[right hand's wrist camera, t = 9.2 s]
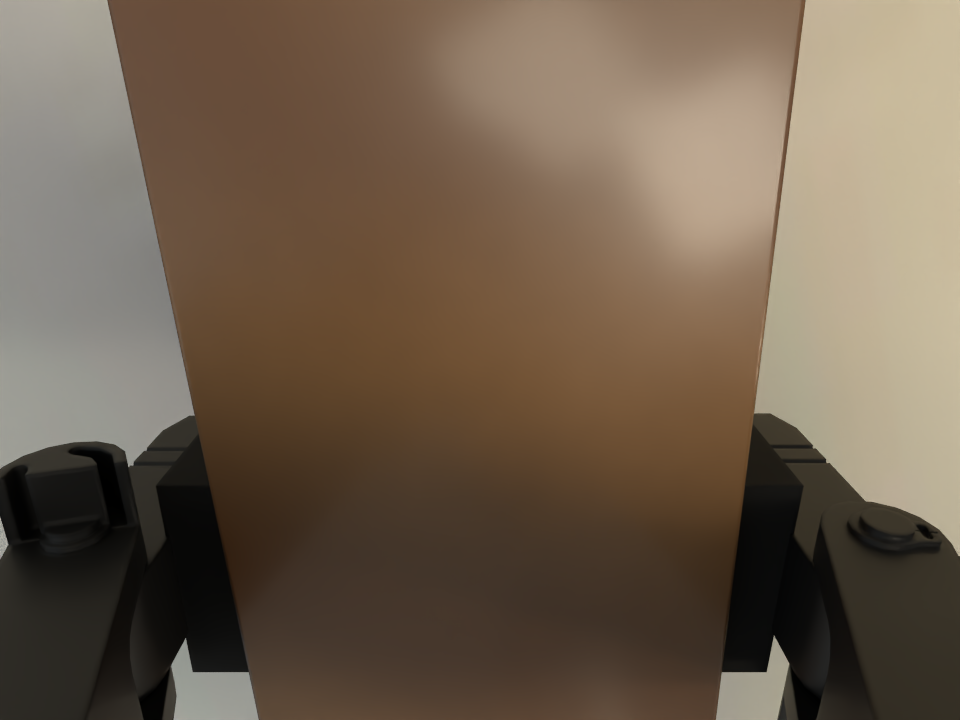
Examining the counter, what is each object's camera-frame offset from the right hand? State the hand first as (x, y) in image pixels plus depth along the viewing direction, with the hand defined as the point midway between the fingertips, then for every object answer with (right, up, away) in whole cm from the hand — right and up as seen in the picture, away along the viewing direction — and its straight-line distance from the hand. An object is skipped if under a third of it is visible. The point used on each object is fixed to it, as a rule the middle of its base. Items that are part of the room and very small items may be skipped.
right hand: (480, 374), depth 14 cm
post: (-1, +28, -10) cm, 30 cm away
